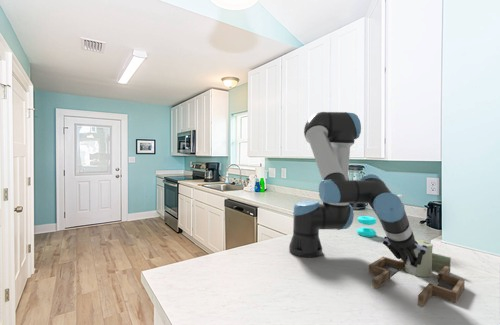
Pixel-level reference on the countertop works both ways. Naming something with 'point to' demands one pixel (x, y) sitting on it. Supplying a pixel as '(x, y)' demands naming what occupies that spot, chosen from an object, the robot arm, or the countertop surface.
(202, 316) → the countertop surface
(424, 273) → the can
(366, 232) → the donuts
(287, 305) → the countertop surface
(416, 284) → the countertop surface
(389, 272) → the channel
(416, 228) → the countertop surface
